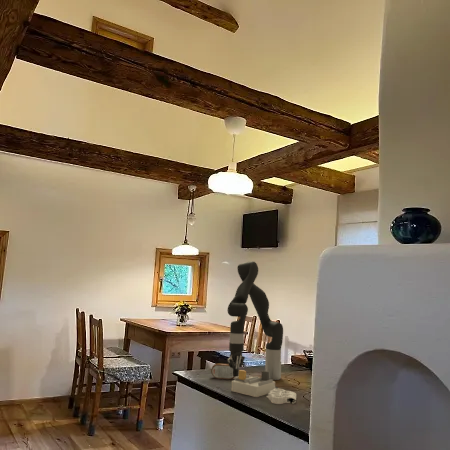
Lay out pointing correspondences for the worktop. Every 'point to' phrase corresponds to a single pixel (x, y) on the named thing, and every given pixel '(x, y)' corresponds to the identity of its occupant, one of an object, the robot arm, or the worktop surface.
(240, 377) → the breaker toggle
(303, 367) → the worktop surface
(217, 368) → the tin
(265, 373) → the toggle
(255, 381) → the breaker housing
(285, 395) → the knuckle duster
